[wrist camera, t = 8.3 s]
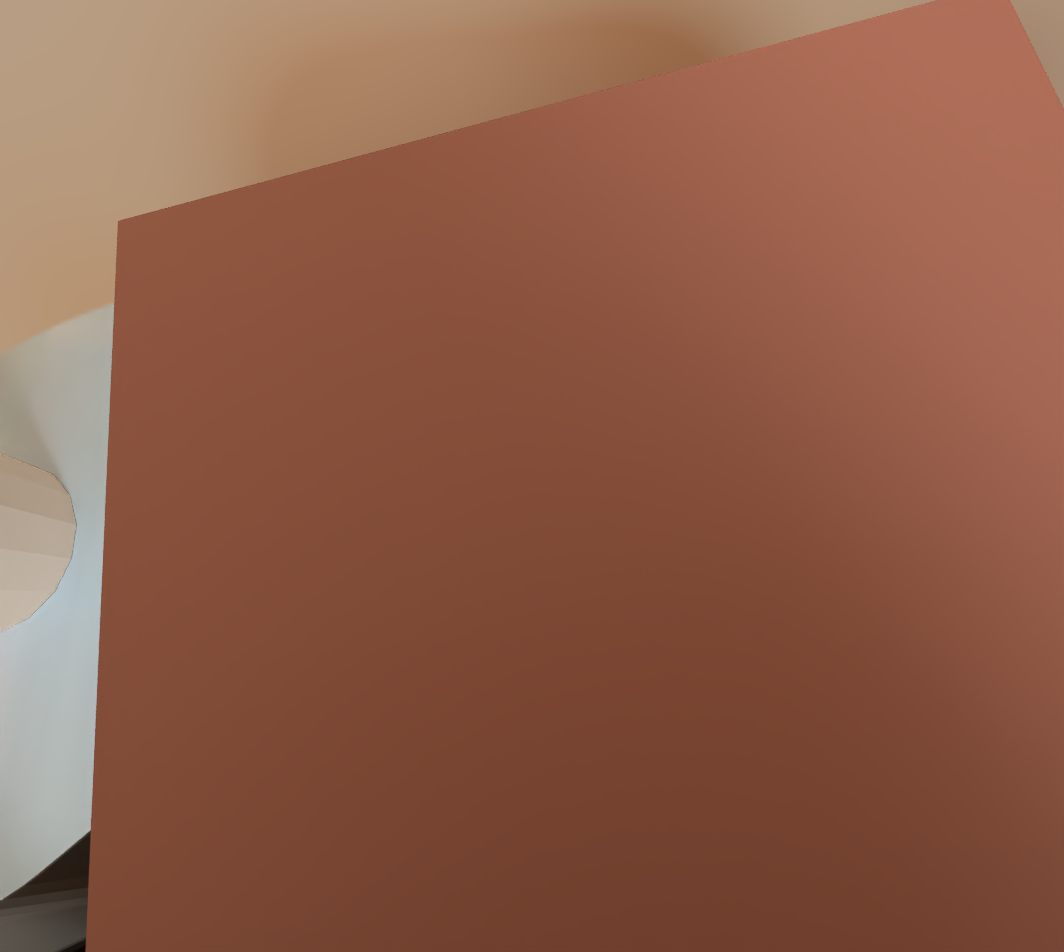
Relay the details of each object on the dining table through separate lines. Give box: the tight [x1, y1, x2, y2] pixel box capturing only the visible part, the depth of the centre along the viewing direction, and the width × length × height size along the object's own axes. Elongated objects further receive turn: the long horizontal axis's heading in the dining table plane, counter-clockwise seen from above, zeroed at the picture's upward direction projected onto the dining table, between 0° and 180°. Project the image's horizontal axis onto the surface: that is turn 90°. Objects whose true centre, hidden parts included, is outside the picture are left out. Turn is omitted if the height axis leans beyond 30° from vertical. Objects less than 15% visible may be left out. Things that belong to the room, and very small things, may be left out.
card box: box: [86, 0, 1064, 952], centre depth 9 cm, size 5×5×13 cm
